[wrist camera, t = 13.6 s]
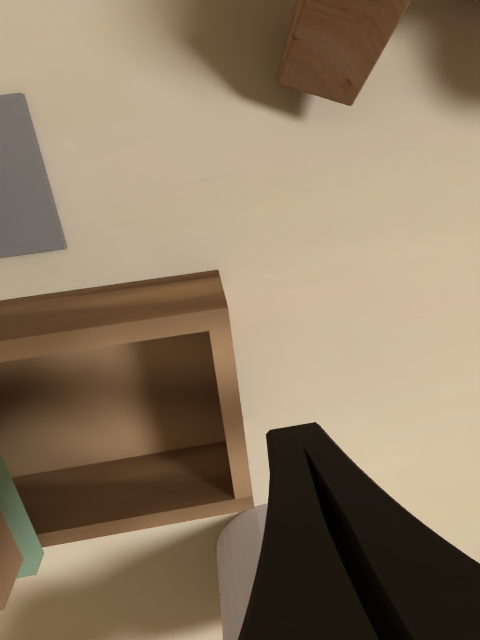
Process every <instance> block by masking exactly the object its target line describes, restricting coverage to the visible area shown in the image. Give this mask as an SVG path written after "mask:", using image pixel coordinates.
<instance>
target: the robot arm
mask: <svg viewBox="0 0 480 640" xmlns="http://www.w3.org/2000/svg"><path fill="white" fill-rule="evenodd" d="M266 439H267V449H268V459H269V469H270V482H269V497H268V504H264V505H260V506H256V507H254V509H251V510H246V511H244V512H242V513H241V514H239V515H237V516H236V517H235V518H234V519H232V520H231V521H230V522H229V523H228V524H227V525H226V526H225V528H224V529H223V530H222V532H221V534H220V536H219V538H218V541H217V545H216V552H217V566H218V580H219V593H220V607H221V620H222V634H223V640H480V563H478V562H476V561H475V560H473V559H472V558H470V557H469V556H467V555H466V554H464V553H463V552H462V551H460V550H459V549H457V548H456V547H455V546H453V545H452V544H450V543H449V542H447V541H446V540H445V539H443V538H442V537H441V536H439V535H438V534H437V533H435V532H434V531H433V530H431V529H430V528H429V527H427V526H426V525H425V524H423V523H422V522H421V521H419V520H418V519H417V518H416V517H414V516H413V515H412V514H411V513H410V512H408V511H407V510H406V509H405V508H403V507H402V506H401V505H400V504H399V503H398V502H396V501H395V500H394V499H393V498H392V497H391V496H389V495H388V494H387V493H386V492H385V491H384V490H383V489H382V488H380V487H379V486H378V485H377V484H376V483H375V482H374V481H373V480H372V479H371V478H370V477H369V476H368V475H367V474H365V473H364V472H363V471H362V470H361V469H360V468H359V467H358V466H357V465H356V464H355V463H354V462H353V461H352V460H351V459H350V458H349V457H348V456H347V455H346V454H345V453H344V452H343V451H342V450H341V449H340V448H339V446H338V445H337V444H336V443H335V442H334V441H333V440H332V439H331V438H330V437H329V436H328V434H327V433H326V432H325V431H324V430H323V429H322V428H321V426H320V425H319V424H317V423H316V422H314V423H308V424H302V425H296V426H291V427H285V428H279V429H273V430H269V432H268V433H267V434H266Z"/></svg>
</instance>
